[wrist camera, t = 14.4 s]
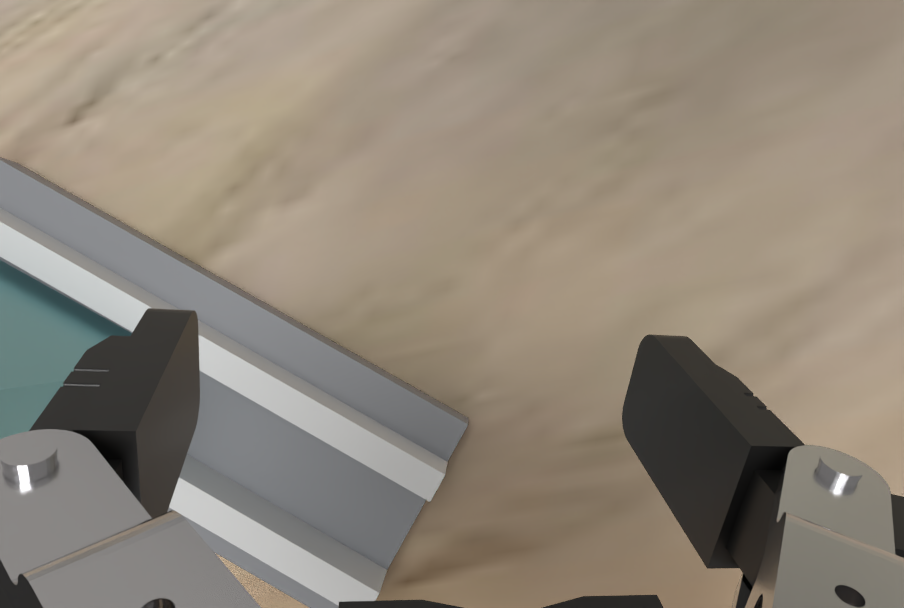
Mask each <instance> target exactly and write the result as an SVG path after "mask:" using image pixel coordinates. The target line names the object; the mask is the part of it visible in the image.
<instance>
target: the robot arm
mask: <svg viewBox="0 0 904 608" xmlns="http://www.w3.org/2000/svg"><path fill="white" fill-rule="evenodd" d="M199 405H200V370H199V333H198V318H197V313H196V311H194V310H174V309H155V308H148V309H147V310H146V311H145V313H144V315H143V316H142V318H141V320H140V321H139V323H138V324H137V326H136V328H135V329H134V331H133V333H132V334H131V336H115V335H111V336H109V337H108V338H106V339H104V340H103V341H101V342H99V343H98V344H96V345H94V346H93V347H91V348H89V349H87V350H86V352H85V353H84V354H83V356H82V357H81V359H80V360H79V361H78V363H77V364H76V366H75V367H74V371H71V373H70V374H69V375H68V377H67V378H66V380H65V381H64V382H63V387H60V388H59V389H58V391H57V392H56V394H55V395H54V396H53V398H52V399H51V401H50V402H49V403H48V405H47V406H46V408H45V409H44V410H43V412H42V413H41V415H40V416H39V417H38V419H37V420H36V422H35V423H34V424H33V426H32V427H31V429H30V430H29V431H27V432H22V433H18V434H14V435H10V436H8V437H5V438H2V439H0V608H261V607H260V606H259V605H258V604H257V602H256V601H255V600H254V599H253V598H252V596H251V595H250V594H249V593H248V592H247V591H246V589H245V588H244V587H243V586H242V585H241V584H240V582H239V581H238V580H237V579H236V578H235V576H234V575H233V574H232V573H231V572H230V571H229V569H228V568H227V567H226V566H225V565H224V563H223V562H222V561H221V560H220V559H219V558H218V556H217V555H216V554H215V553H214V552H213V551H212V549H211V548H210V547H209V546H208V545H207V543H206V542H205V541H204V540H203V539H202V538H201V536H200V535H199V534H198V533H197V532H196V531H195V529H194V528H193V527H192V526H191V525H190V523H189V522H188V521H187V520H186V519H185V518H184V517H183V516H182V515H181V514H180V513H178V512H176V511H173V510H171V511H168V508H169V505H170V502H171V499H172V497H173V494H174V491H175V488H176V485H177V482H178V479H179V476H180V473H181V470H182V467H183V464H184V461H185V458H186V455H187V452H188V449H189V446H190V444H191V441H192V438H193V435H194V432H195V429H196V425H197V420H198V414H199ZM622 422H623V429H624V433H625V436H626V438H627V440H628V442H629V444H630V445H631V447H632V448H633V450H634V452H635V453H636V455H637V456H638V458H639V460H640V461H641V463H642V464H643V466H644V468H645V469H646V471H647V472H648V474H649V476H650V477H651V479H652V481H653V482H654V484H655V485H656V487H657V489H658V490H659V492H660V493H661V495H662V497H663V498H664V500H665V501H666V503H667V505H668V506H669V508H670V509H671V511H672V513H673V514H674V516H675V517H676V519H677V521H678V522H679V524H680V525H681V527H682V529H683V530H684V532H685V534H686V535H687V537H688V538H689V540H690V542H691V543H692V545H693V546H694V548H695V550H696V551H697V553H698V554H699V556H700V558H701V559H702V561H703V562H704V564H705V566H706V567H707V568H740V569H741V571H742V572H743V573H742V575H741V578H740V580H739V583H738V585H737V588H736V591H735V595H734V599H733V604H732V608H904V497H902V496H897V495H893V494H891V492H890V488H889V486H888V484H887V483H886V481H885V480H884V479H883V478H882V477H881V476H880V475H879V474H878V473H877V472H876V471H875V470H873V469H872V468H871V467H869V466H868V465H866V464H865V463H863V462H861V461H860V460H858V459H856V458H854V457H852V456H850V455H847V454H845V453H842V452H840V451H837V450H833V449H830V448H826V447H821V446H813V445H805V444H804V443H803V442H802V441H801V440H800V439H799V438H798V437H796V436H795V435H794V434H793V433H792V432H791V431H790V430H789V429H788V428H787V427H786V426H785V425H784V424H783V423H782V422H781V421H780V420H779V419H778V418H777V417H776V416H775V415H774V414H773V413H772V412H771V411H770V410H766V406H765V405H764V404H763V403H762V402H761V401H760V400H759V399H758V398H757V397H754V396H753V393H752V392H751V391H750V390H749V389H748V388H747V387H746V386H745V385H744V384H743V383H742V382H741V381H740V380H739V379H738V378H737V377H736V376H734V375H732V374H731V373H729V372H727V371H726V370H724V369H722V368H721V367H719V366H717V365H716V364H714V363H713V362H712V361H711V360H710V358H709V357H708V356H707V355H706V354H705V353H704V352H703V351H702V350H701V349H700V348H699V347H698V346H697V345H696V344H695V343H694V342H693V341H692V340H691V339H690V338H688V337H685V336H666V335H647V336H645V337H644V338H643V339H642V341H641V343H640V345H639V348H638V352H637V356H636V360H635V364H634V367H633V371H632V375H631V379H630V383H629V386H628V390H627V394H626V398H625V402H624V406H623V413H622ZM167 511H168V512H167ZM338 608H462V607H457V606H452V605H446V604H441V603H436V602H431V601H425V600H393V601H346V602H339V607H338ZM543 608H663V606H662V604H661V602H660V600H659V598H658V596H657V595H629V596H583V597H580V598H576V599H572V600H569V601H565V602H561V603H557V604H554V605H550V606H546V607H543Z"/></svg>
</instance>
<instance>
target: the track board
mask: <svg viewBox="0 0 904 608" xmlns="http://www.w3.org/2000/svg"><path fill="white" fill-rule="evenodd" d="M0 260H1V261H3V262H5V263H6V264H8V265H10V266H12V267H14V268H15V269H17V270H19V271H21V272H23V273H24V274H26V275H28V276H30V277H32V278H33V279H35V280H37V281H39V282H41V283H42V284H44V285H46V286H48V287H50V288H51V289H53V290H55V291H57V292H59V293H60V294H62V295H64V296H66V297H68V298H69V299H71V300H73V301H75V302H77V303H78V304H80V305H82V306H84V307H86V308H87V309H89V310H91V311H93V312H95V313H96V314H98V315H100V316H102V317H104V318H105V319H107V320H109V321H111V322H113V323H114V324H116V325H118V326H120V327H122V328H123V329H125V330H127V331H129V332H131V333H133V331H134V329H135V328H136V326H137V324H138V323H139V321H140V320H141V318H142V316H143V315H144V313H145V311H146V310H147V309H148V308H155V309H174V310H194V311H196V313H197V318H198V333H199V370H200V405H199V414H198V420H197V425H196V429H195V432H194V435H193V438H192V441H191V444H190V446H189V449H188V452H187V455H186V458H185V461H184V464H183V467H182V470H181V473H180V476H179V479H178V482H177V485H176V488H175V491H174V494H173V497H172V499H171V502H170V505H169V508H168V511H171V510H173V511H176V512H178V513H180V514H181V515H182V516H183V517H184V518H185V519H186V520H187V521H188V522H189V523H190V525H191V526H192V527H193V528H194V529H195V531H196V532H197V533H198V534H199V535H200V536H201V538H202V539H203V540H204V541H205V542H206V543H207V545H208V546H209V547H210V548H211V549H212V551H213V552H215V553H217V554H218V555H220V556H222V557H224V558H225V559H227V560H229V561H230V562H232V563H234V564H236V565H237V566H239V567H241V568H242V569H244V570H246V571H248V572H249V573H251V574H253V575H254V576H256V577H258V578H260V579H261V580H263V581H265V582H266V583H268V584H270V585H272V586H273V587H275V588H277V589H278V590H280V591H282V592H284V593H285V594H287V595H289V596H291V597H292V598H294V599H296V600H297V601H299V602H301V603H303V604H304V605H306V606H308V607H309V608H338V607H339V602H346V601H375V600H376V598H377V597H378V595H379V593H380V590H381V587H382V584H383V581H384V578H385V575H386V572H387V569H388V568H389V566H390V564H391V562H392V561H393V559H394V557H395V555H396V553H397V552H398V550H399V548H400V546H401V544H402V543H403V541H404V539H405V537H406V535H407V534H408V532H409V530H410V528H411V526H412V525H413V523H414V521H415V519H416V517H417V516H418V514H419V512H420V510H421V508H422V507H423V505H424V503H425V501H426V500H427V501H429V502H431V500H432V498H433V496H434V494H435V493H436V491H437V489H438V487H439V485H440V484H441V482H442V480H443V478H444V476H445V474H446V468H447V462H448V460H449V458H450V456H451V455H452V453H453V451H454V449H455V447H456V446H457V444H458V442H459V440H460V439H461V437H462V435H463V433H464V431H465V430H466V428H467V426H468V418H467V417H466V416H464V415H462V414H460V413H459V412H457V411H455V410H453V409H452V408H450V407H448V406H446V405H444V404H443V403H441V402H439V401H437V400H436V399H434V398H432V397H430V396H429V395H427V394H425V393H423V392H421V391H420V390H418V389H416V388H414V387H413V386H411V385H409V384H407V383H405V382H404V381H402V380H400V379H398V378H397V377H395V376H393V375H391V374H390V373H388V372H386V371H384V370H382V369H381V368H379V367H377V366H375V365H374V364H372V363H370V362H368V361H367V360H365V359H363V358H361V357H359V356H358V355H356V354H354V353H352V352H351V351H349V350H347V349H345V348H344V347H342V346H340V345H338V344H336V343H335V342H333V341H331V340H329V339H328V338H326V337H324V336H322V335H321V334H319V333H317V332H315V331H313V330H312V329H310V328H308V327H306V326H305V325H303V324H301V323H299V322H297V321H296V320H294V319H292V318H290V317H289V316H287V315H285V314H283V313H282V312H280V311H278V310H276V309H274V308H273V307H271V306H269V305H267V304H266V303H264V302H262V301H260V300H259V299H257V298H255V297H253V296H251V295H250V294H248V293H246V292H244V291H243V290H241V289H239V288H237V287H236V286H234V285H232V284H230V283H228V282H227V281H225V280H223V279H221V278H220V277H218V276H216V275H214V274H213V273H211V272H209V271H207V270H205V269H204V268H202V267H200V266H198V265H197V264H195V263H193V262H191V261H189V260H188V259H186V258H184V257H182V256H181V255H179V254H177V253H175V252H174V251H172V250H170V249H168V248H166V247H165V246H163V245H161V244H159V243H158V242H156V241H154V240H152V239H151V238H149V237H147V236H145V235H143V234H142V233H140V232H138V231H136V230H135V229H133V228H131V227H129V226H128V225H126V224H124V223H122V222H120V221H119V220H117V219H115V218H113V217H112V216H110V215H108V214H106V213H105V212H103V211H101V210H99V209H97V208H96V207H94V206H92V205H90V204H89V203H87V202H85V201H83V200H81V199H80V198H78V197H76V196H74V195H73V194H71V193H69V192H67V191H66V190H64V189H62V188H60V187H58V186H57V185H55V184H53V183H51V182H50V181H48V180H46V179H44V178H43V177H41V176H39V175H37V174H35V173H34V172H32V171H30V170H28V169H27V168H25V167H23V166H21V165H20V164H18V163H15V162H13V161H10V160H7V159H4V158H1V157H0ZM168 511H167V512H168Z"/></svg>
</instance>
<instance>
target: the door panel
mask: <svg viewBox="0 0 904 608" xmlns="http://www.w3.org/2000/svg"><path fill="white" fill-rule="evenodd" d="M131 334H132V333H131V332H129V331H127V330H125V329H123V328H122V327H120V326H118V325H116V324H114V323H113V322H111V321H109V320H107V319H105V318H104V317H102V316H100V315H98V314H96V313H95V312H93V311H91V310H89V309H87V308H86V307H84V306H82V305H80V304H78V303H77V302H75V301H73V300H71V299H69V298H68V297H66V296H64V295H62V294H60V293H59V292H57V291H55V290H53V289H51V288H50V287H48V286H46V285H44V284H42V283H41V282H39V281H37V280H35V279H33V278H32V277H30V276H28V275H26V274H24V273H23V272H21V271H19V270H17V269H15V268H14V267H12V266H10V265H8V264H6V263H5V262H3V261H1V260H0V439H2V438H5V437H8V436H10V435H14V434H18V433H22V432H27V431H29V430H30V429H31V427H32V426H33V424H34V423H35V422H36V420H37V419H38V417H39V416H40V415H41V413H42V412H43V410H44V409H45V408H46V406H47V405H48V403H49V402H50V401H51V399H52V398H53V396H54V395H55V394H56V392H57V391H58V389H59V388H60V387H63V382H64V381H65V380H66V378H67V377H68V375H69V374H70V373H71V371H74V367H75V366H76V364H77V363H78V361H79V360H80V359H81V357H82V356H83V354H84V353H85V352H86V350H87V349H89V348H91V347H93V346H94V345H96V344H98V343H99V342H101V341H103V340H104V339H106V338H108V337H109V336H111V335H115V336H131Z"/></svg>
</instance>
